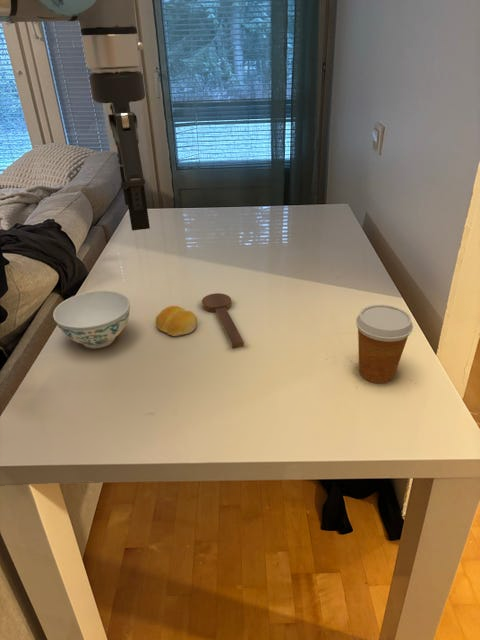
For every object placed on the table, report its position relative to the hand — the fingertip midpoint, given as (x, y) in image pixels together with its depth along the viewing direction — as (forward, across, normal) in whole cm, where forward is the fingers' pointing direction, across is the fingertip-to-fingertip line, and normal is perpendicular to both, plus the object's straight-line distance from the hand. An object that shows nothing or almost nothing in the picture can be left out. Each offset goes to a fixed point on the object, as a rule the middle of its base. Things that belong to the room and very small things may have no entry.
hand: (136, 215), depth 77 cm
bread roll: (+29, +10, -6) cm, 31 cm away
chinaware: (+29, +10, +11) cm, 32 cm away
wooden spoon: (+29, +9, -16) cm, 34 cm away
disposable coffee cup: (+29, -18, -38) cm, 51 cm away
